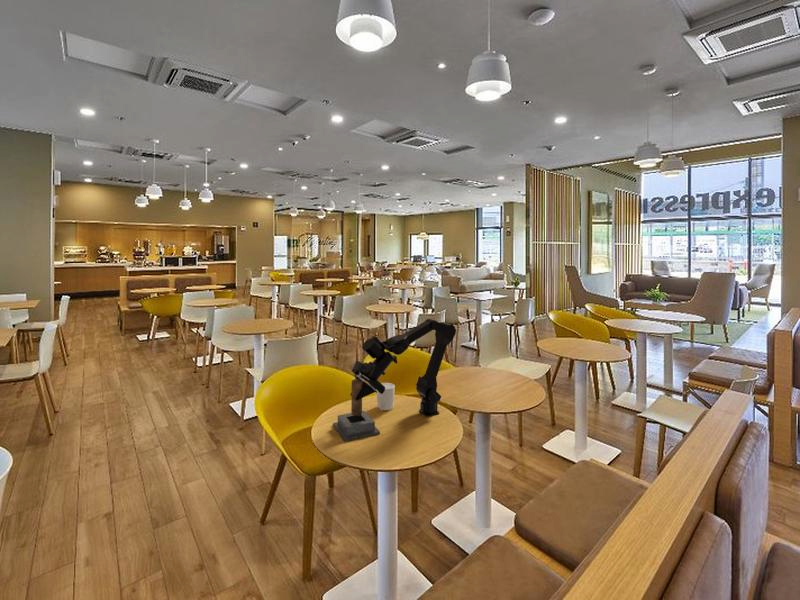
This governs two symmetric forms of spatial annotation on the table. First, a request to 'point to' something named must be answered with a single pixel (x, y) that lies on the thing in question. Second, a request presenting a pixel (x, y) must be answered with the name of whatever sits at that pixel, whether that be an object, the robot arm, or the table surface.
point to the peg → (356, 404)
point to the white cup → (386, 397)
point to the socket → (355, 426)
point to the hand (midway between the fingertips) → (353, 397)
